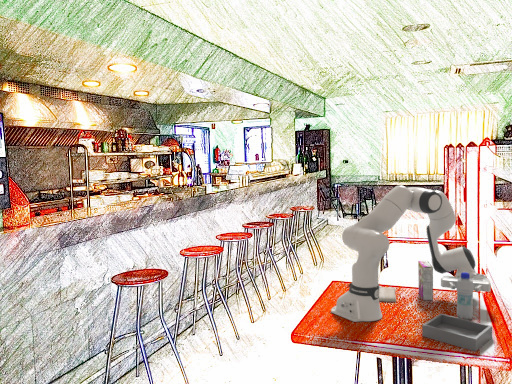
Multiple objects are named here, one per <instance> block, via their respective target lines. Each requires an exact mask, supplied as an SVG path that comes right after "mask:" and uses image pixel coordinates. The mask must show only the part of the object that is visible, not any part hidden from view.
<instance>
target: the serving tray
mask: <svg viewBox="0 0 512 384" xmlns="http://www.w3.org/2000/svg"><path fill="white" fill-rule="evenodd" d="M421 326H422V332H421V335H422V337H424V338H427V339H431V340H435V341H438V342H442V343H445V344H449V345H453V346H456V347H459V348H462V349H466V350H470V351H473V352H477V351H478V350H479V349H481V348H482V347H483V346H484V345H485V344H487V342H489V341H490V340H491V339H492V338H493V326H492V325H490V324H485V323H481V322H478V321H473V320H468V319H467V320H466V319H465V318H463V319H461V318H458V317H457V316H453V315H448V314H444V313H439V314H437V315H436V316H434V317H432V318H431V319H429V320H428V321H426V322H424V323H423V324H422V325H421Z"/></svg>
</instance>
